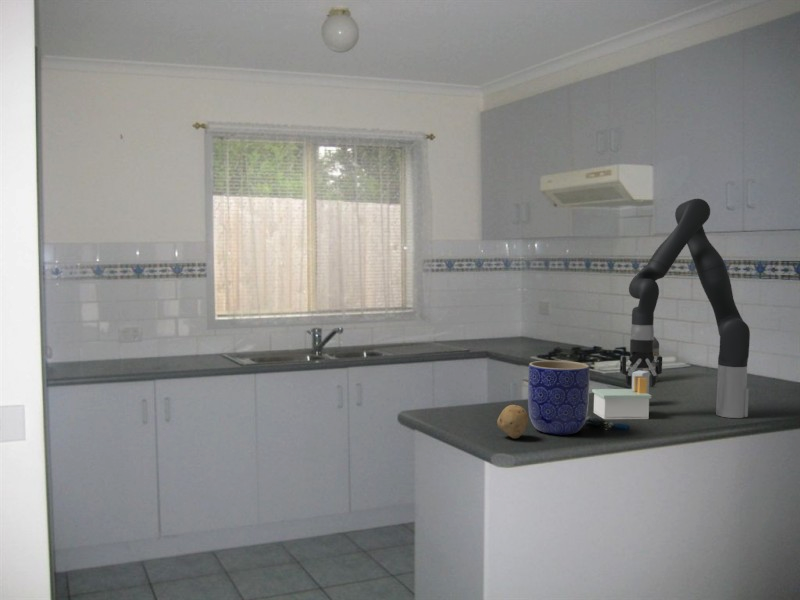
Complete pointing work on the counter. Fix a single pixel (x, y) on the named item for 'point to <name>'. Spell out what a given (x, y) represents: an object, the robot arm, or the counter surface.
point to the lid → (626, 390)
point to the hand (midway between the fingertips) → (640, 386)
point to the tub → (621, 408)
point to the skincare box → (643, 374)
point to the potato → (513, 421)
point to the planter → (558, 396)
